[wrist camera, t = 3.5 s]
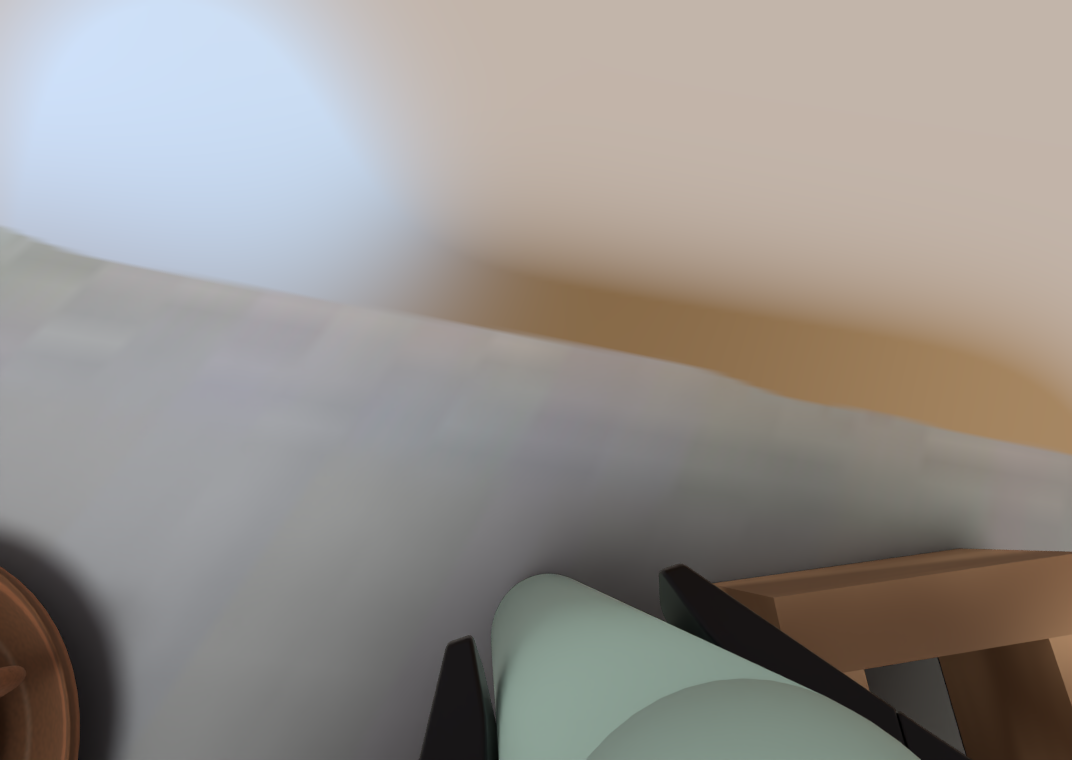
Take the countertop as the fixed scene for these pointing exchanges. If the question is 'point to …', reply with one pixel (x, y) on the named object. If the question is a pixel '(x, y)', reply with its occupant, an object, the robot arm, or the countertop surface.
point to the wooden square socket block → (946, 634)
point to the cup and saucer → (34, 681)
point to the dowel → (649, 690)
